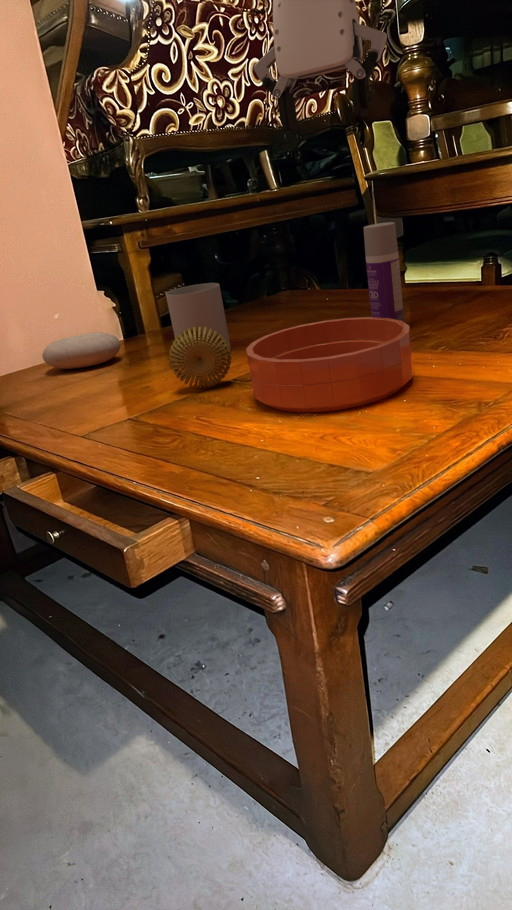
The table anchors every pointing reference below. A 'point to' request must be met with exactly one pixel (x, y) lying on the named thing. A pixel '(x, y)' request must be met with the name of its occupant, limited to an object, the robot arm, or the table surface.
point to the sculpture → (200, 357)
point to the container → (383, 271)
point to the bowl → (331, 364)
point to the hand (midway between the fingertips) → (325, 123)
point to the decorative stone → (81, 350)
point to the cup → (198, 309)
